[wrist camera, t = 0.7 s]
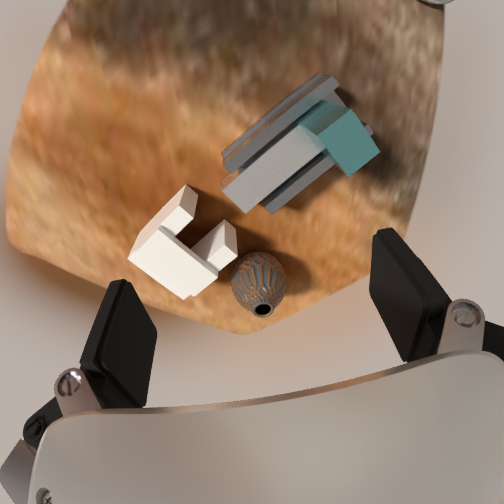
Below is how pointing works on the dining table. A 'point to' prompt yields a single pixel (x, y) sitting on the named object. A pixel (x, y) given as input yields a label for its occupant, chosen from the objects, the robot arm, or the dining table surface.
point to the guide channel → (274, 124)
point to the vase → (259, 283)
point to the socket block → (182, 248)
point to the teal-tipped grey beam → (302, 152)
